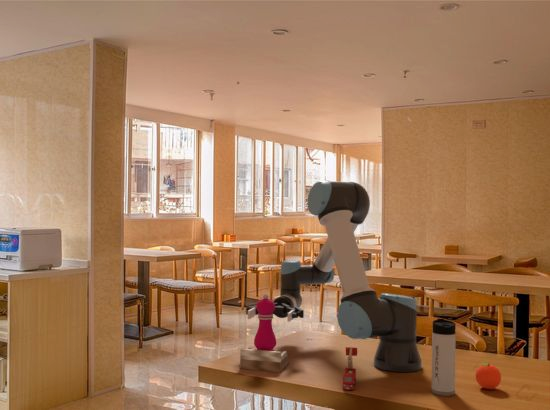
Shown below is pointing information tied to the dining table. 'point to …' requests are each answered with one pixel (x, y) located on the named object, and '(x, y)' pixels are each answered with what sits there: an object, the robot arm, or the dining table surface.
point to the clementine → (488, 376)
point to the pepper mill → (265, 325)
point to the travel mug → (443, 357)
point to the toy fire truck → (349, 378)
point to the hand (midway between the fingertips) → (268, 316)
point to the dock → (263, 360)
